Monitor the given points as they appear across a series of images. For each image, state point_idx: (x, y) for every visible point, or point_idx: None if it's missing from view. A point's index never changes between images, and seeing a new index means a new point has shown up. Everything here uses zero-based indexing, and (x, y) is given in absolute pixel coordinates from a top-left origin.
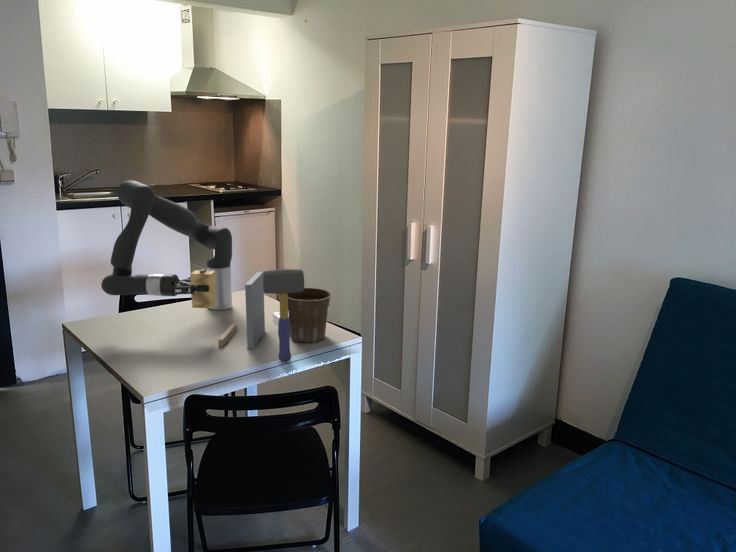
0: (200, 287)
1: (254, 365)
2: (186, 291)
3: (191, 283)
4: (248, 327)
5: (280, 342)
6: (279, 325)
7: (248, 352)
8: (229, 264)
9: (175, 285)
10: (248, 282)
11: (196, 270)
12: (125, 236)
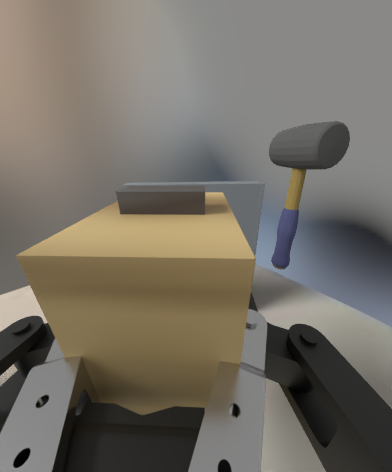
0: (252, 297)
1: (315, 292)
2: (327, 446)
3: (239, 357)
4: None
5: (291, 243)
6: (297, 220)
7: (267, 308)
8: None
9: None
10: (242, 183)
11: (50, 244)
12: None
